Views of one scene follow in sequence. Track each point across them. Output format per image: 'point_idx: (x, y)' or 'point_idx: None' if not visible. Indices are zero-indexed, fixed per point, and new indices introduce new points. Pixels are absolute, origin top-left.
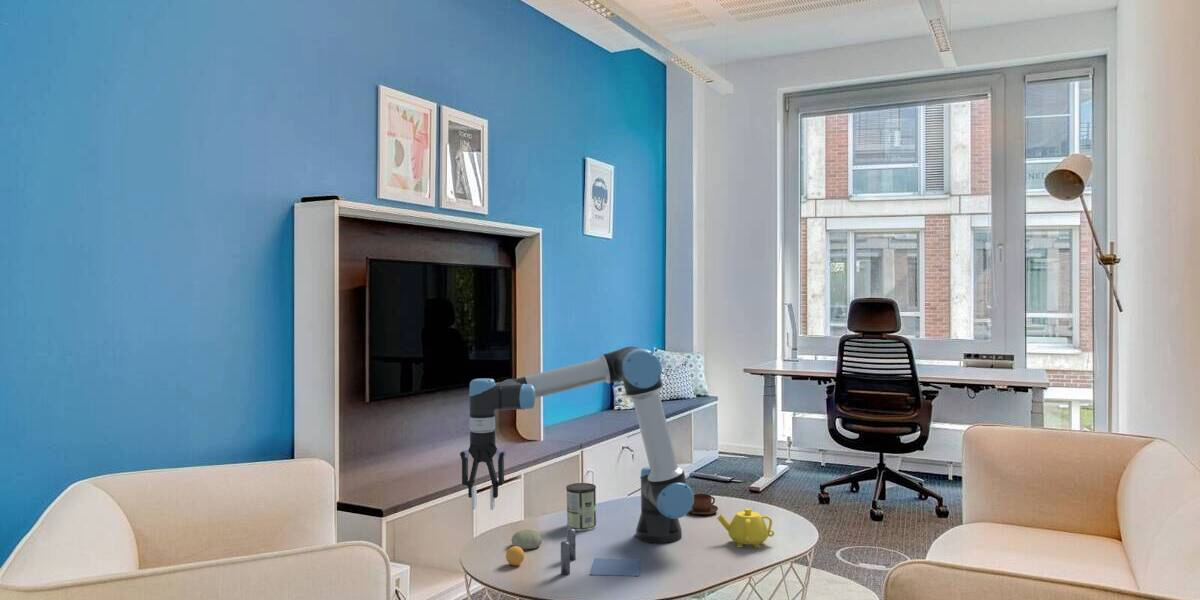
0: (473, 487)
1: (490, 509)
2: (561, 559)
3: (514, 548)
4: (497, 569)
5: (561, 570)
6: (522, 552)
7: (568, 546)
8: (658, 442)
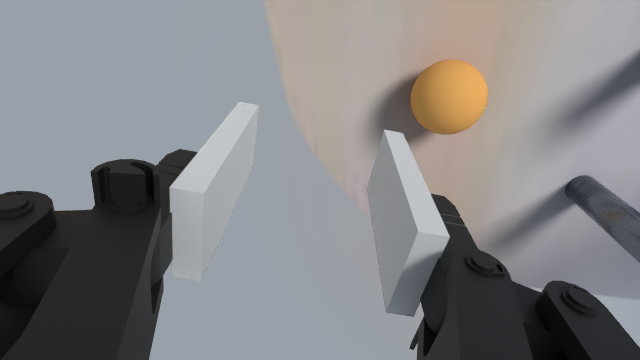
0: (191, 273)
1: (367, 189)
2: (595, 220)
3: (452, 122)
4: (373, 124)
5: (572, 199)
6: (479, 117)
7: None
8: None
